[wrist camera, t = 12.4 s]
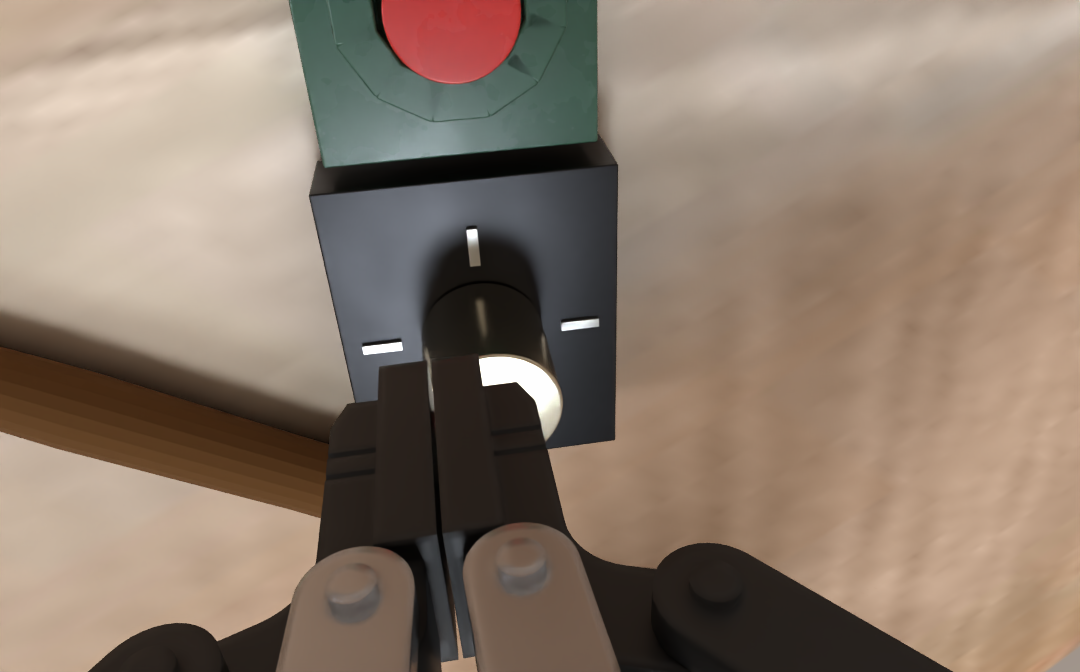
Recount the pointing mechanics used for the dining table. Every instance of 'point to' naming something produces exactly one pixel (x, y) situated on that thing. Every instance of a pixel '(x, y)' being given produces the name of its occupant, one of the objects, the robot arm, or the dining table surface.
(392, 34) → the button
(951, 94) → the dining table surface
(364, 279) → the panel
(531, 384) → the dial
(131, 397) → the hammer
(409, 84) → the switchbox
